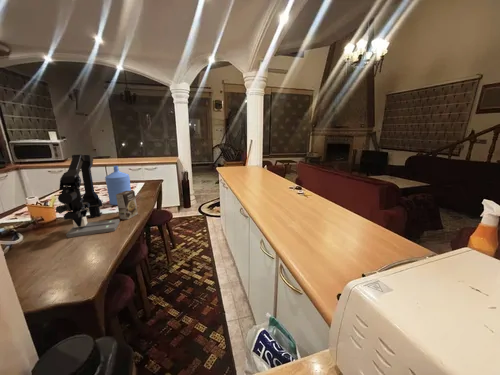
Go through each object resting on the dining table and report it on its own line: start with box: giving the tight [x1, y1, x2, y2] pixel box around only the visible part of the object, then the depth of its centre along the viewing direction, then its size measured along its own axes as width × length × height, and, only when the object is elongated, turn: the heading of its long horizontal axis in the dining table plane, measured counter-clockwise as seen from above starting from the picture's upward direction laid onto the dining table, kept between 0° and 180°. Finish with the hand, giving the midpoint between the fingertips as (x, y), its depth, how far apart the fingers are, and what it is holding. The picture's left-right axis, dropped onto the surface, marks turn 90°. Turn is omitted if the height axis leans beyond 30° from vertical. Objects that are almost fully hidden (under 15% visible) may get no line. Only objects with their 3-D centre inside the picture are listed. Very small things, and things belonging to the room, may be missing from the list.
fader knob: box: [72, 216, 88, 227], centre depth 120 cm, size 4×5×5 cm
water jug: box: [104, 165, 132, 206], centre depth 164 cm, size 16×16×28 cm
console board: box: [65, 218, 120, 238], centre depth 123 cm, size 13×22×2 cm, turn 110°
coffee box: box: [116, 190, 138, 220], centre depth 139 cm, size 9×6×16 cm
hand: (81, 224), depth 121 cm, fingers closed on fader knob, 4 cm apart
